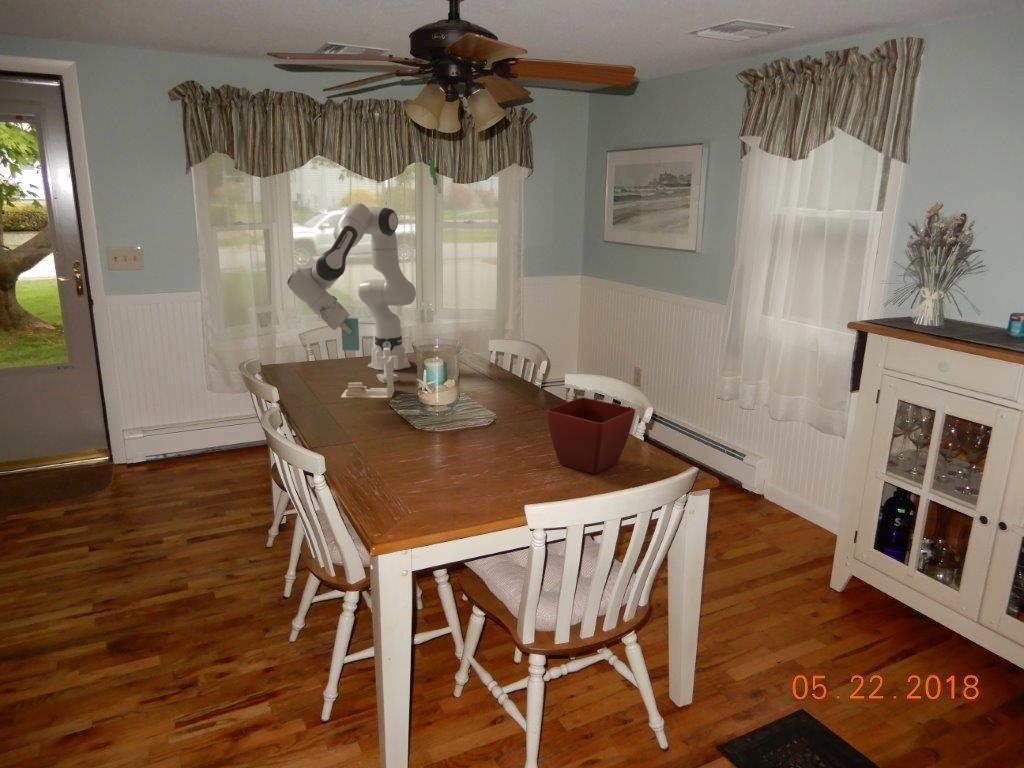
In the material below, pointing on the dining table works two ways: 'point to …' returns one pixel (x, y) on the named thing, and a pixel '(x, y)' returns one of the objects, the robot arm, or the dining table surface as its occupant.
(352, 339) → the tall board
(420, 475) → the dining table surface
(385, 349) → the figurine
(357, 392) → the plate
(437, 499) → the dining table surface
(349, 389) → the offcut top
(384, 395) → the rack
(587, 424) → the plant pot
